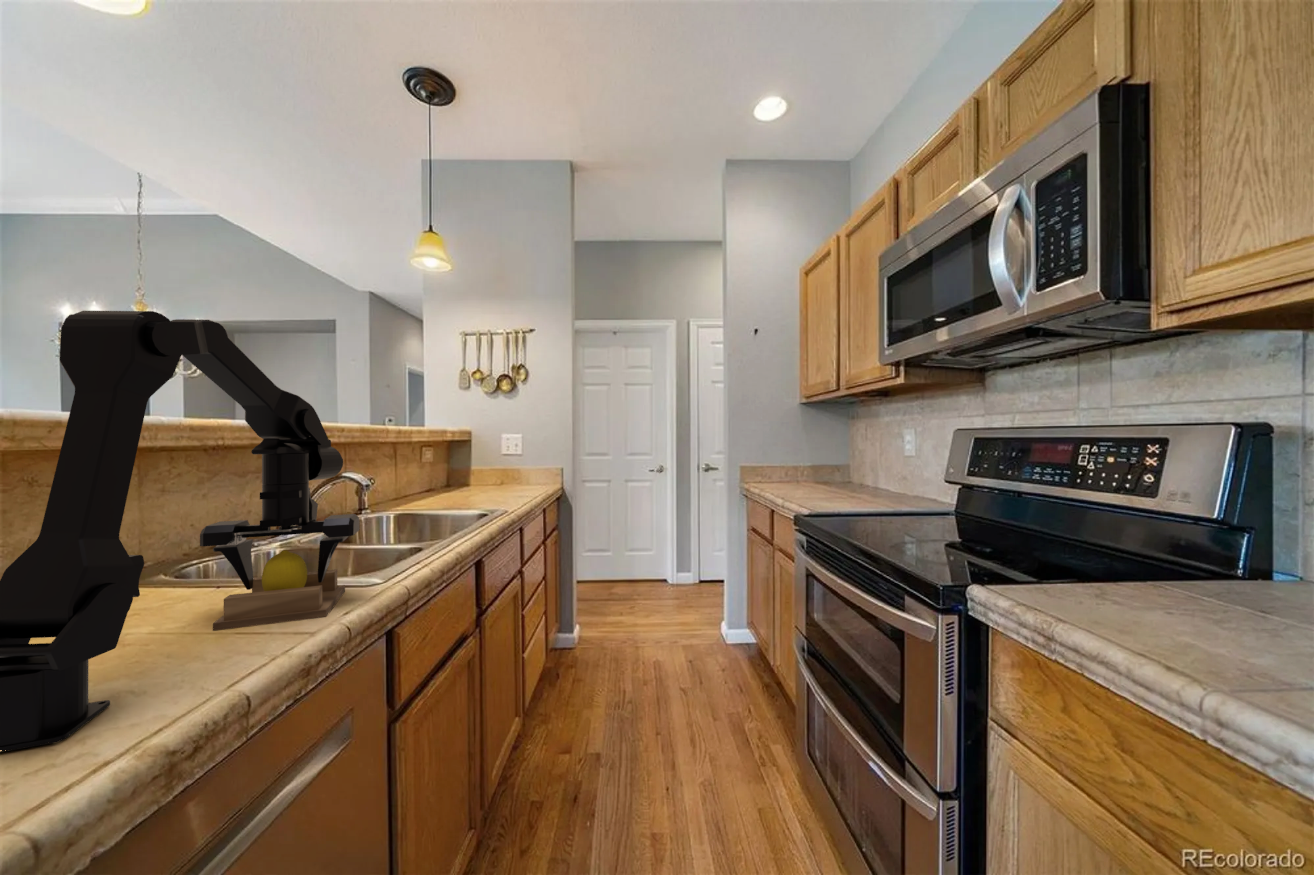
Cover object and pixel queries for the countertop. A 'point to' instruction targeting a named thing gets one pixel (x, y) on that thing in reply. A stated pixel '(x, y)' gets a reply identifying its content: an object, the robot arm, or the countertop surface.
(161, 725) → the countertop surface
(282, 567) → the lemon
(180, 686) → the countertop surface
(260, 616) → the cradle
